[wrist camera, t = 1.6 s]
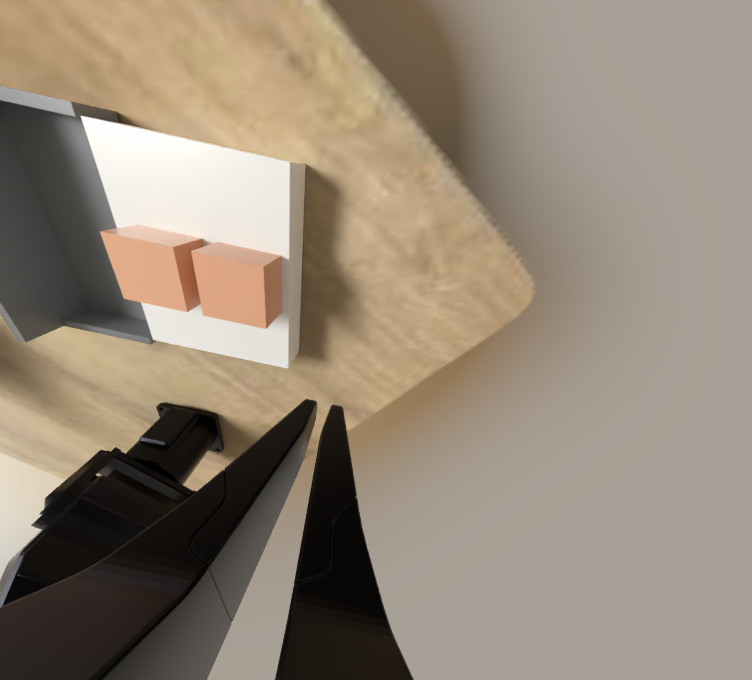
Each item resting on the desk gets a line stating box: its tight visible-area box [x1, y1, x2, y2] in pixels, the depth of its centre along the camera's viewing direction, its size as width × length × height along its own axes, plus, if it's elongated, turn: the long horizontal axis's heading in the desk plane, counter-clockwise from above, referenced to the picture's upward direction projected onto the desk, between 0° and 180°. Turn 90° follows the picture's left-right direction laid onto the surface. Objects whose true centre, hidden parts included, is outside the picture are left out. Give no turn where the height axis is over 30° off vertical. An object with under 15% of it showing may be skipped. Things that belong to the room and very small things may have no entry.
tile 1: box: [191, 242, 282, 329], centre depth 16 cm, size 4×4×2 cm
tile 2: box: [100, 225, 203, 312], centre depth 16 cm, size 4×4×2 cm
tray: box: [0, 86, 156, 344], centre depth 17 cm, size 15×8×5 cm, turn 169°
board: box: [81, 116, 306, 368], centre depth 18 cm, size 14×11×2 cm
